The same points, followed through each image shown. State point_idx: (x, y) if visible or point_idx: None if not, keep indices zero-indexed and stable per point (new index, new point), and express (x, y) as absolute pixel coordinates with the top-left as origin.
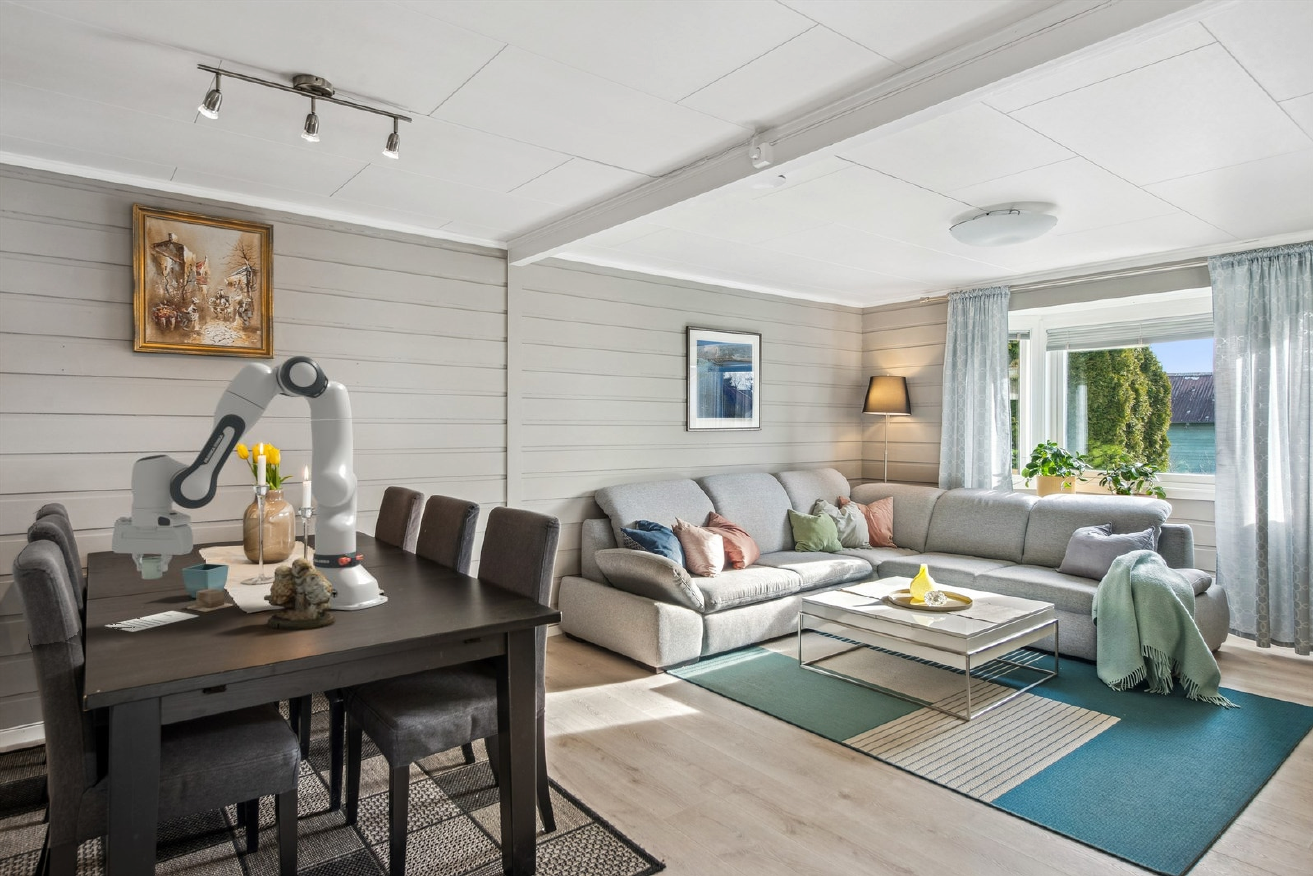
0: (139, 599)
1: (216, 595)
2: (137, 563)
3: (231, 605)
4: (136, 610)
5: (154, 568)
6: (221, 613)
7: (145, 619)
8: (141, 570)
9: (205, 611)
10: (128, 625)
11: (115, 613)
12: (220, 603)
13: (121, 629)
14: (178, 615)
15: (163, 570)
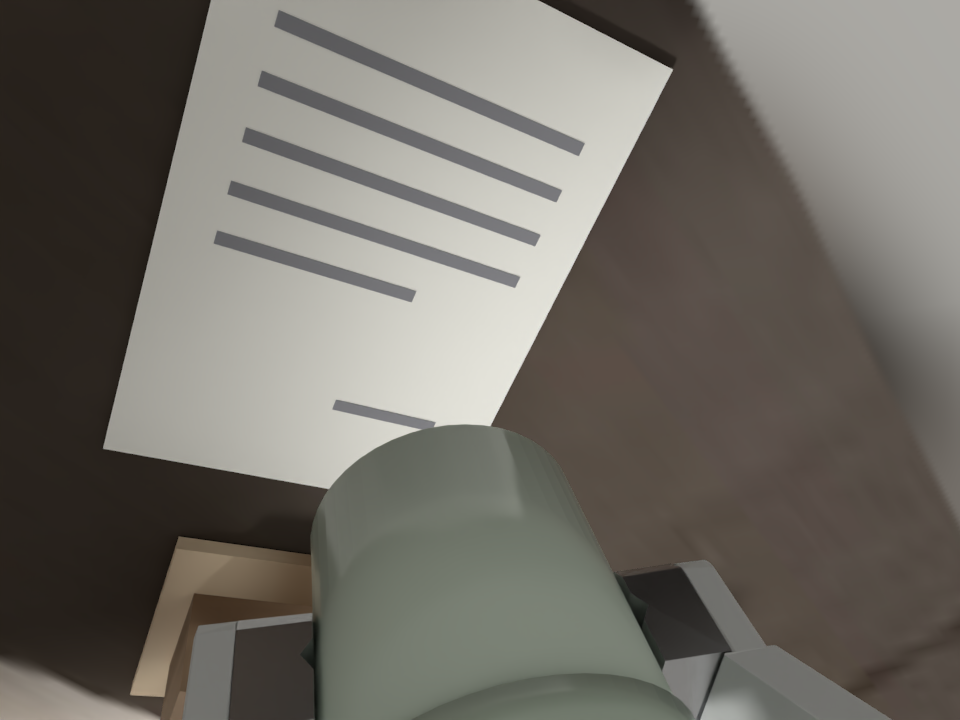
0: (799, 638)
1: (170, 705)
2: (760, 661)
3: (133, 681)
4: (697, 485)
5: (345, 621)
6: (34, 551)
7: (466, 291)
8: (631, 571)
9: (176, 543)
10: (470, 95)
11: (785, 409)
12: (173, 664)
13: None
14: (295, 427)
15: (195, 643)
